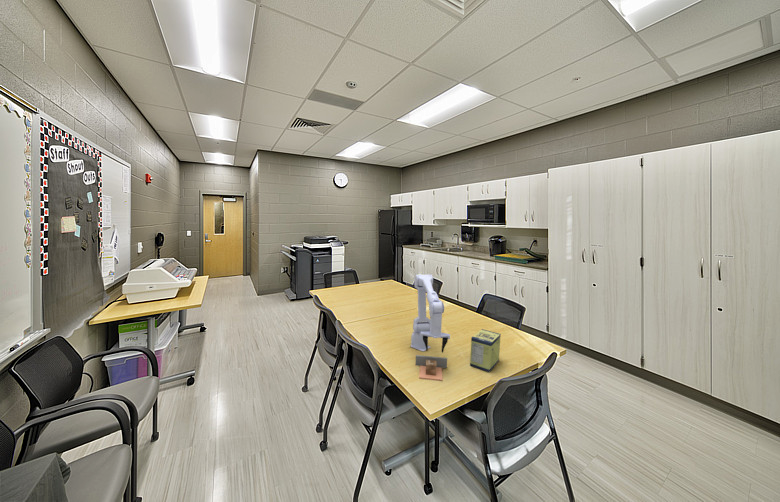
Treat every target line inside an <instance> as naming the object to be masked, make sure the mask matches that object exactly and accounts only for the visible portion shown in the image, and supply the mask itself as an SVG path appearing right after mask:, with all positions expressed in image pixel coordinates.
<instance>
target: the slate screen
mask: <svg viewBox="0 0 780 502" xmlns="http://www.w3.org/2000/svg"><path fill="white" fill-rule="evenodd" d="M426 360H435V361H436V367H441V368H442V369H447V368H448V358H447V357H441V356H430V355H418V354H416V355H415V366H419V367H420V366H426Z"/></svg>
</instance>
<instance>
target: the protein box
mask: <svg viewBox="0 0 780 502" xmlns="http://www.w3.org/2000/svg"><path fill="white" fill-rule="evenodd" d="M500 347H501V333H499V332H494V331H492V330H491V331H490V330H487V329H483V328H482V329H480V330H479V331H478V332H477V333H475V334H474V335H473V336H471V340H470V356H469V357H470V358H469V366H470V367H473V368H476V369H478V370H482V371H484V372H487V373H490V372H491V371H492V370H493V369H494V368H495V366H496V365H497V364H498V363H499V362H500V350H501V349H500Z"/></svg>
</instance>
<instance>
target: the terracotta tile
mask: <svg viewBox="0 0 780 502" xmlns="http://www.w3.org/2000/svg"><path fill="white" fill-rule="evenodd" d="M418 376H419V377H418V379H422V380H431V381H441V382H443V368H441V367H436V375H426V366H419V375H418Z"/></svg>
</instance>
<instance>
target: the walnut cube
mask: <svg viewBox="0 0 780 502" xmlns="http://www.w3.org/2000/svg"><path fill="white" fill-rule="evenodd" d="M426 375H436V361H435V360H426Z"/></svg>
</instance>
